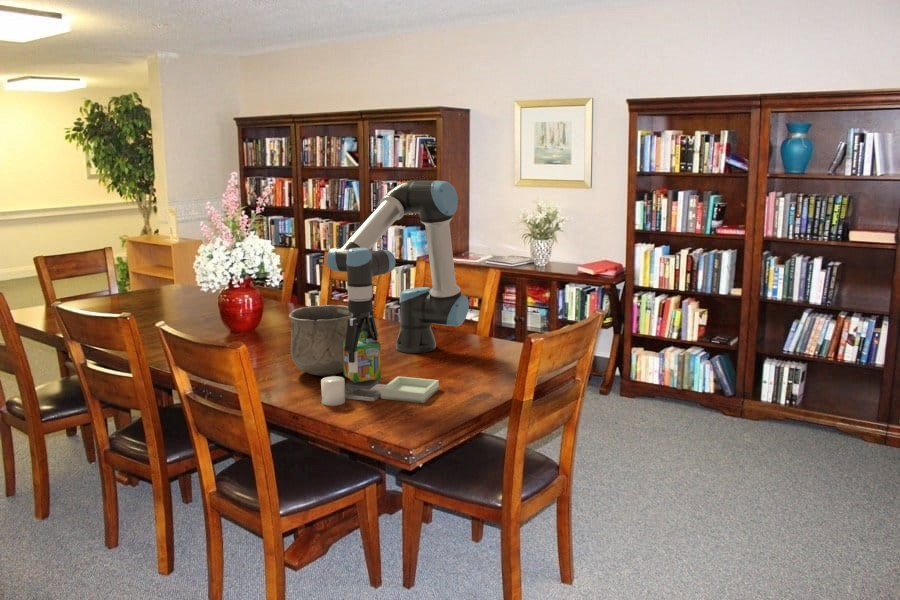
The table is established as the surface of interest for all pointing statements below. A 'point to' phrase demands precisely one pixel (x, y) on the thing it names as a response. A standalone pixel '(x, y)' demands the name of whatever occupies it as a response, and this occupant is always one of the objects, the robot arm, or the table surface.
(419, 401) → the trough tray
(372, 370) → the chalk box
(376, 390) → the checker base
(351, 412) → the table surface
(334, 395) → the white cylinder
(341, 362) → the pot
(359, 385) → the checker plate
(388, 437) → the table surface
